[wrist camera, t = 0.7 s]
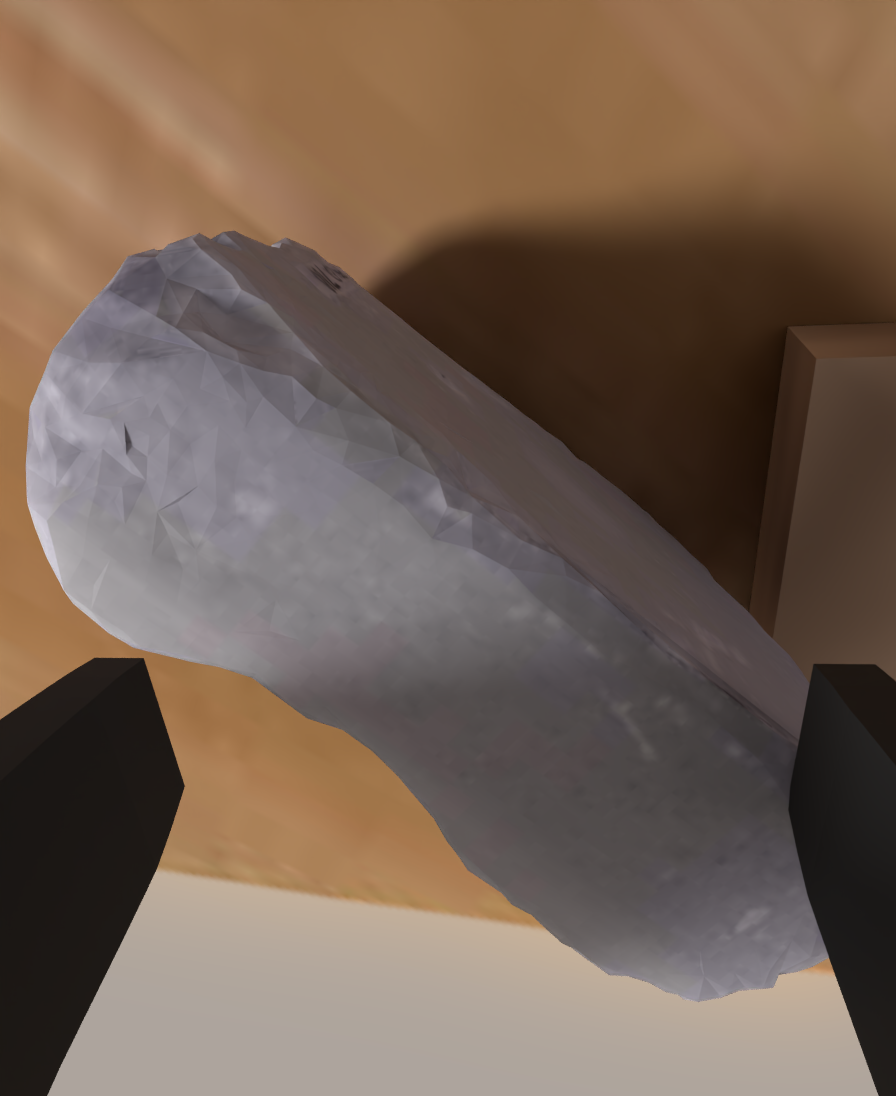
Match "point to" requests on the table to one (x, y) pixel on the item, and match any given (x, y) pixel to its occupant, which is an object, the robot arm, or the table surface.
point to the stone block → (431, 601)
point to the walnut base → (832, 500)
